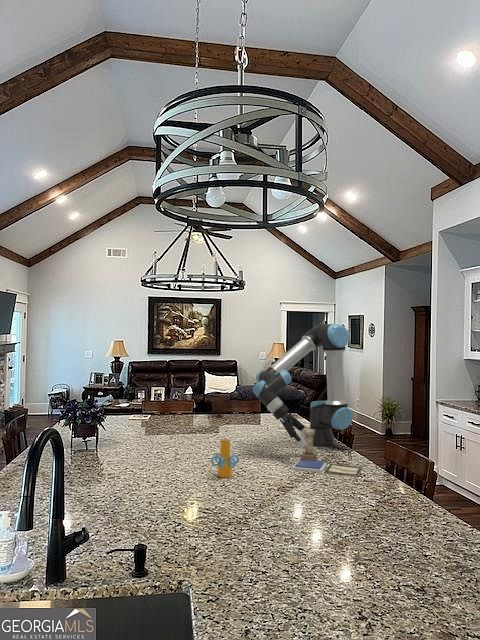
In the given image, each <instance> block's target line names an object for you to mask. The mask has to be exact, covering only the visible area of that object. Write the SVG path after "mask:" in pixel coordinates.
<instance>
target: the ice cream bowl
mask: <svg viewBox="0 0 480 640" xmlns="http://www.w3.org/2000/svg"><path fill="white" fill-rule="evenodd" d="M212 401H213V402H212V403H211V407H212V408H213V409H214V410H215V411H216V412H217V415H215V417H214V418H216V419H223V418H224V416H223V415H222V414H221V412H223V411H225V410H226V409H227V407H228V403H227V402H226V401H227V398H226V396H225V395H218V397H216V398H214V399H213V400H212Z"/></svg>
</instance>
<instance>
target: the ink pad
mask: <svg viewBox="0 0 480 640" xmlns="http://www.w3.org/2000/svg"><path fill="white" fill-rule="evenodd" d="M327 465H328V463H326V462H325V461H318V460H316V461H309V460H301V459H300V460H298V461H297V462H296V463H295V464H294V465H293V466H292V467H291V469H292V470H294V471H302V470H303V471H304V472H311V473H323V471H324V470H326V468H327ZM303 471H302V472H303Z"/></svg>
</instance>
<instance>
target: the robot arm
mask: <svg viewBox="0 0 480 640" xmlns="http://www.w3.org/2000/svg"><path fill="white" fill-rule="evenodd" d="M349 342H350V333H349V330H348V328H346V327H345V326H344V325H342V324H338V323H329V324H328V323H321V324H318V325H316V326H314V327H313V328H312V329H310V330H309V331H307V332H306V333H304V334H303V336H301V340H300V341H299V342H297V343H296V344H295V345H294V346H293V347H291V348H290V349H289V350H288V351H286V352H285V353H284V354H283V355H282V356H281V357H279V358H278V359H277V360H276V361H275V362H274V363H273V364H271V365H270V366H269V367H268V368H266V369H265V370H260V371H258V373H257V374H256V376H255V381H256V384H255V385H254V386H253V387H252V392H253V393H254V395H255V397H256V399H257V398H258V400H259V401H260V402H261V403H262V404H263V405H264V406H265V407H266V409H267V411H269V412H270V413H271V414H272V416H273V417H274V418H275V419H276V420H279V422H280V423H281V424H282V426H283V427H284V429H285V431H286V432H287V434H288V436H289V437H290V438H291V439H292V438H293V439H294V440H295V441H296V442H297V443H298V445H299V446H300V447H301V448H302V449H303V448H305V446H306V445H307V443H306V442H305V440H304V439H303V437H304V438H305V434H304V430H305V429H306V426H305V425H304V424H303V423H302V422H300V421H299V420H298V419H297V418H296V417H295V416H294V415H293V414H292V413H288V412H289V411H290V409H289V408H288V407H287V405H286V404H284V402H283V401H282V400H281V398H280V397H279V396H278V395H277V394H278V393H279V392H281V391H282V390H283V389H285V388H286V387H287V386H288V385H289V384H290V383H291V382H292V380H293V379H292V376H291V374H290V373H289V372H288V371H289V370H290V369H291V368H292V367H293V366H295V365H296V364H297V363H299V361H300V360H302V359H303V358H304V357H305V356H307V354H309V353H310V352H311V351H315V350H317V348H320V347H322V352H323V353H325V364H326V365H325V367H326V369H325V371H326V388H327V389H326V392H327V400H315V401H311V402H310V407H309V429H313V430H315V434H314V435H313V446H316V447H317V446H318V447H331V446H335V444H336V443H335V441H336V439H335V436H334V434H333V433H334V432H333V430H332V429H334V430H341V431H342V430H345V429H347V428H348V427H349V426H350V425H351V424H352V422H353V418H354V417H353V412H352V410H351V409H350V408H349V406H348V401H347V400H346V399H345V381H344V380H345V379H344V378H345V377H344V356H343V354H344V352H345V351H346V346H347V345H348V344H349ZM296 429H297V430H298V431H299V433H300V434H301V435H302V436H303V437H301V435H300V434H299V433H298V432H296Z"/></svg>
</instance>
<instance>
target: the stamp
mask: <svg viewBox="0 0 480 640" xmlns="http://www.w3.org/2000/svg"><path fill="white" fill-rule="evenodd" d="M304 434H305V437H304V439H305V440H304V441H305V442H306V443H307V445H306V446H305V447H304V451H303V452H302V453H301V454H300V460H309V461H318V459H317V455H318V453H317V452H314V445H313V435H314V434H315V430H313V429H310V428H305V430H304Z"/></svg>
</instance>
